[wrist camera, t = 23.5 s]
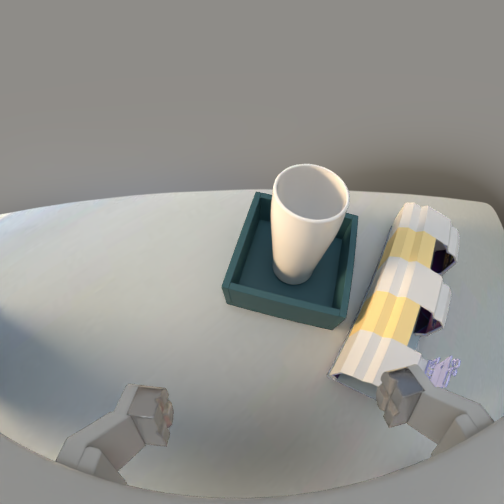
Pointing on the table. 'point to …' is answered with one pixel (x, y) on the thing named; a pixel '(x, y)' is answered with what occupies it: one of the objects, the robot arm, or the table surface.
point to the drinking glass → (305, 219)
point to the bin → (285, 295)
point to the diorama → (402, 303)
